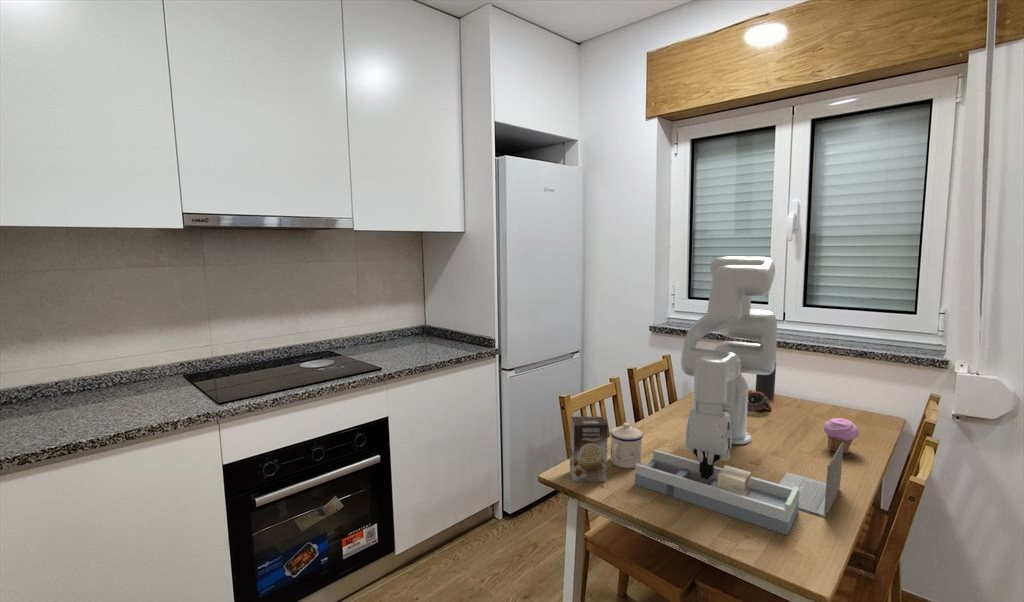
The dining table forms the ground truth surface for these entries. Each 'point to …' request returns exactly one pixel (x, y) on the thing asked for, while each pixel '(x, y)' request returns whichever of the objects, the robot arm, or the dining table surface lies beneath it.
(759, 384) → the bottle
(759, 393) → the pottery mug
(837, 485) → the laptop
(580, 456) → the coffee box
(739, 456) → the dining table surface
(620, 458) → the teacup with lid
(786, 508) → the channel
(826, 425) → the cupcake
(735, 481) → the block
